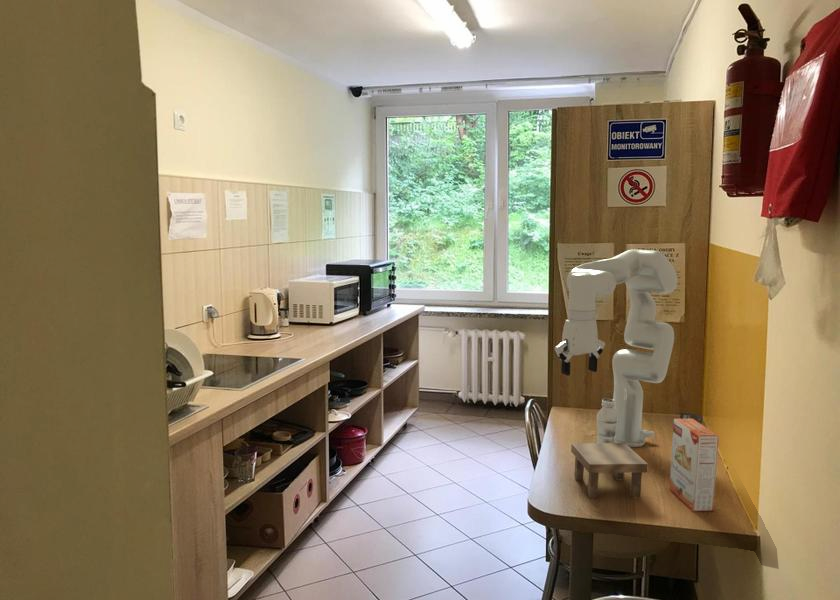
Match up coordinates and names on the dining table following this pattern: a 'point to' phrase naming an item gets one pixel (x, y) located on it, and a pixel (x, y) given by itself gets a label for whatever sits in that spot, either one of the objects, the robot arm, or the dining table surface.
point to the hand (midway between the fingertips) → (579, 372)
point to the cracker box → (694, 464)
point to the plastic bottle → (607, 422)
